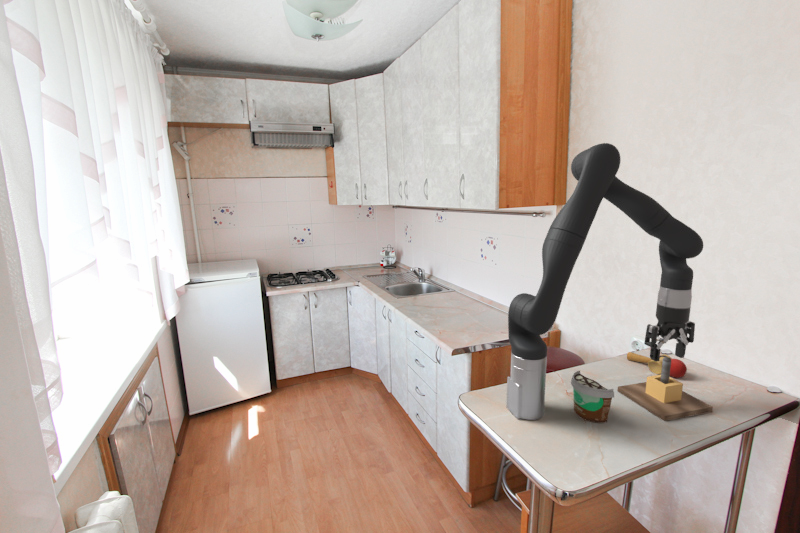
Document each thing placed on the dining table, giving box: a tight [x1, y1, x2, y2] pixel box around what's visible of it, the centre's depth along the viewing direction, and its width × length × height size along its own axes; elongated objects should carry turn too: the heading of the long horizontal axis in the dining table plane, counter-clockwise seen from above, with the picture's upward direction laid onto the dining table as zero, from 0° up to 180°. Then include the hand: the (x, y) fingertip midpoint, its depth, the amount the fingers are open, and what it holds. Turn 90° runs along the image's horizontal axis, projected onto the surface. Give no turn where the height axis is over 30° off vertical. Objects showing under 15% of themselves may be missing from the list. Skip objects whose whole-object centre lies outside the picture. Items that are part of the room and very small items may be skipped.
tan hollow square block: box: [645, 374, 684, 403], centre depth 110 cm, size 6×6×5 cm
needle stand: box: [617, 357, 714, 422], centre depth 109 cm, size 16×16×14 cm
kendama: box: [626, 351, 687, 379], centre depth 129 cm, size 8×6×18 cm
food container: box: [570, 370, 615, 424], centre depth 104 cm, size 12×6×10 cm, turn 19°
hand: (667, 358), depth 108 cm, fingers open, 8 cm apart
